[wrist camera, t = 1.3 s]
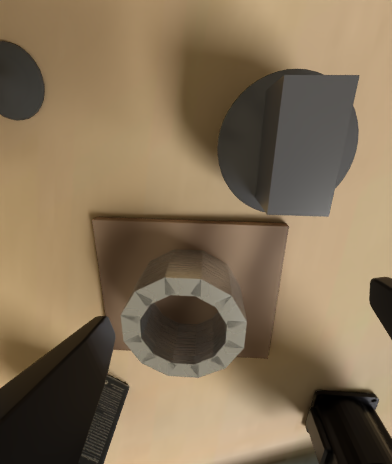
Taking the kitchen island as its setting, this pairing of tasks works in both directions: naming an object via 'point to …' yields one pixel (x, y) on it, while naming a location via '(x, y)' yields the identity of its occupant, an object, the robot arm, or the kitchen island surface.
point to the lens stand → (194, 238)
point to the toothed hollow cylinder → (185, 335)
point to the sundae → (19, 83)
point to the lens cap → (290, 141)
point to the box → (104, 422)
